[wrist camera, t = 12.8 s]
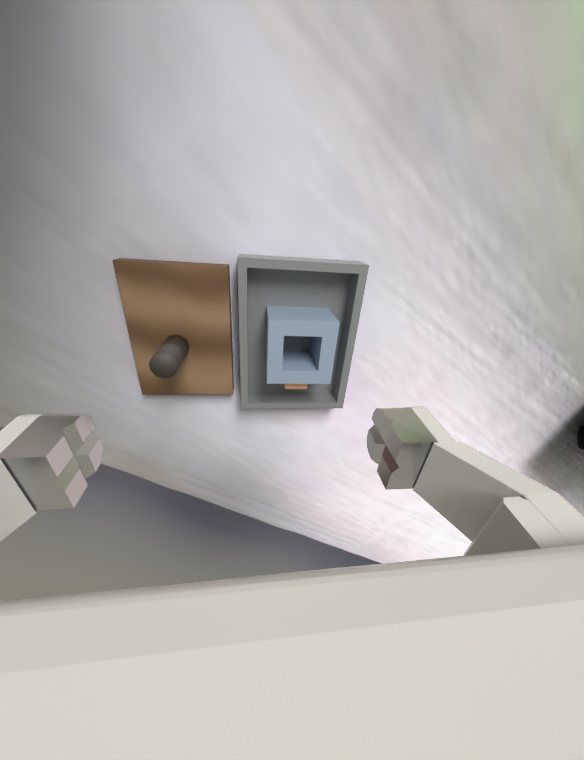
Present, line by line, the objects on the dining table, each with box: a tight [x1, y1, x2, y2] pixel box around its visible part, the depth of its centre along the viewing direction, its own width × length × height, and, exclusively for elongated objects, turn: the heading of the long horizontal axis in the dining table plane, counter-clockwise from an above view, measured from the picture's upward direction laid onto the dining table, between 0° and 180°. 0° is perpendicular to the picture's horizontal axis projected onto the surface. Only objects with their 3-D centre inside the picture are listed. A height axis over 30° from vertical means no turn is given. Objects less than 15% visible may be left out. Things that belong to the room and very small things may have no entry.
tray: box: [237, 254, 369, 409], centre depth 30 cm, size 16×12×3 cm
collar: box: [265, 306, 340, 389], centre depth 29 cm, size 8×6×5 cm
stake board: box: [113, 258, 234, 395], centre depth 27 cm, size 14×10×6 cm
